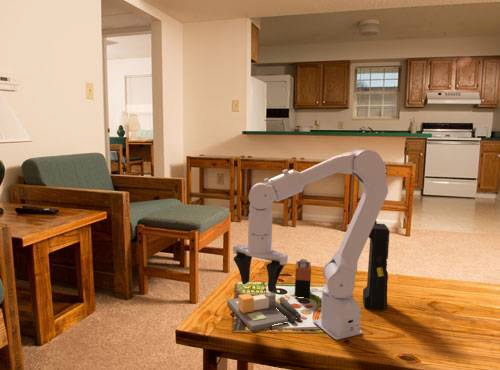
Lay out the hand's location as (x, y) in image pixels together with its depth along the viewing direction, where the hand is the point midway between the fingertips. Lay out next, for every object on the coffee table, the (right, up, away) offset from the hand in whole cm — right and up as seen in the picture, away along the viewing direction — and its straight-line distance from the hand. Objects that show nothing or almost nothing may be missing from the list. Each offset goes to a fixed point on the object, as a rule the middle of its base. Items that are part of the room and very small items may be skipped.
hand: (258, 286), depth 97 cm
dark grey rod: (+6, -9, +8) cm, 13 cm away
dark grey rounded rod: (+9, -9, +8) cm, 15 cm away
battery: (+13, -8, +19) cm, 25 cm away
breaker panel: (0, -9, +6) cm, 11 cm away
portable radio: (+33, -9, +13) cm, 36 cm away
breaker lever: (0, -7, +6) cm, 10 cm away
